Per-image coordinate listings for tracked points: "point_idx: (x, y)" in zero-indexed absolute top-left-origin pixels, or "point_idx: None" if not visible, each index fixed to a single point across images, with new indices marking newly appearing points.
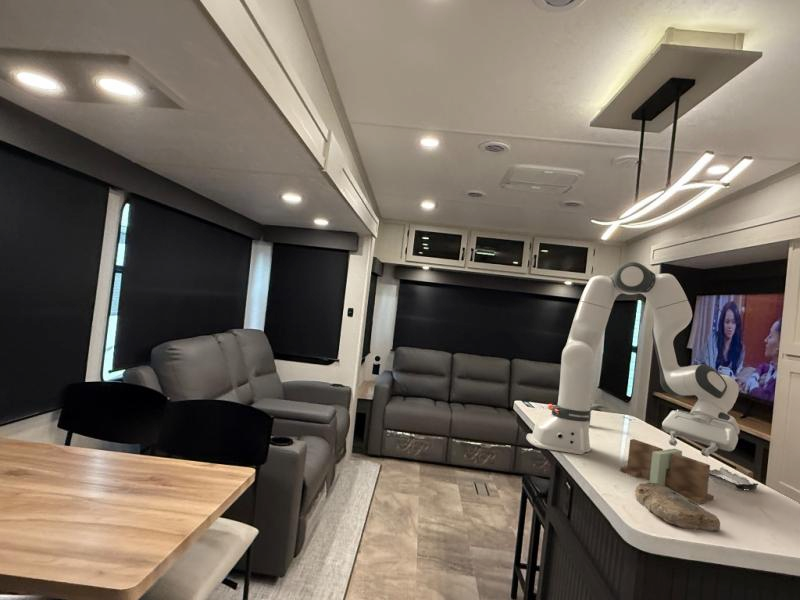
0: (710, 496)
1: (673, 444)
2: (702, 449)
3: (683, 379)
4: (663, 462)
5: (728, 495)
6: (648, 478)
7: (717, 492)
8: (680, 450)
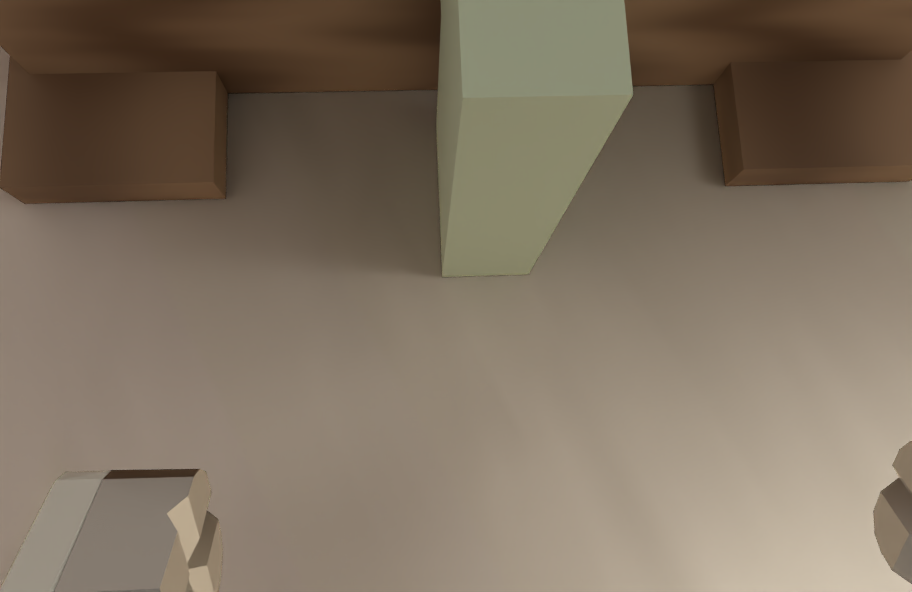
0: (11, 120)
1: (904, 467)
2: (171, 532)
3: None
4: None
5: None
6: None
7: None
8: (500, 93)
